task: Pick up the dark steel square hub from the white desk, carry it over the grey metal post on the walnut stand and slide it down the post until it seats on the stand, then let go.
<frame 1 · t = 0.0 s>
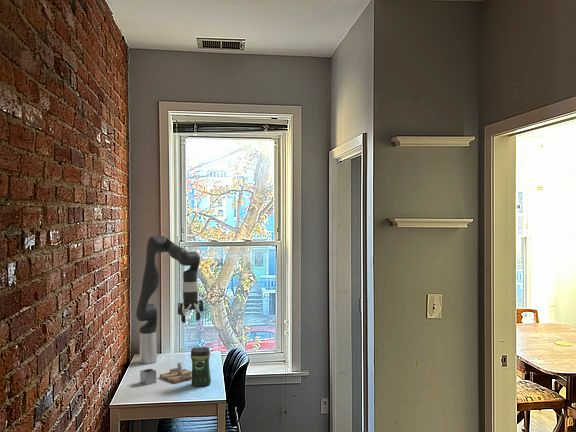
hand: (190, 321, 294), 29 cm above the table, fingers open, 8 cm apart
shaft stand: (179, 377, 295), on the table
hub: (148, 382, 287), on the table
coffee jar: (201, 384, 282), on the table
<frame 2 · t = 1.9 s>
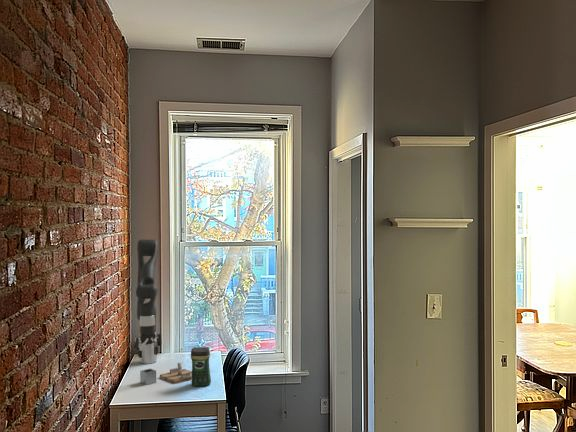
hand: (148, 356, 287), 13 cm above the table, fingers open, 8 cm apart
nothing on the table moved.
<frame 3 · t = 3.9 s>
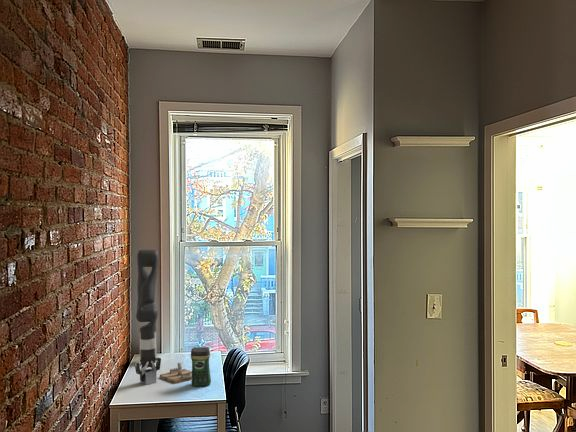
hand: (148, 380, 287), 1 cm above the table, fingers closed on hub, 5 cm apart
hub: (148, 382, 287), on the table, touching gripper
everything else where it was.
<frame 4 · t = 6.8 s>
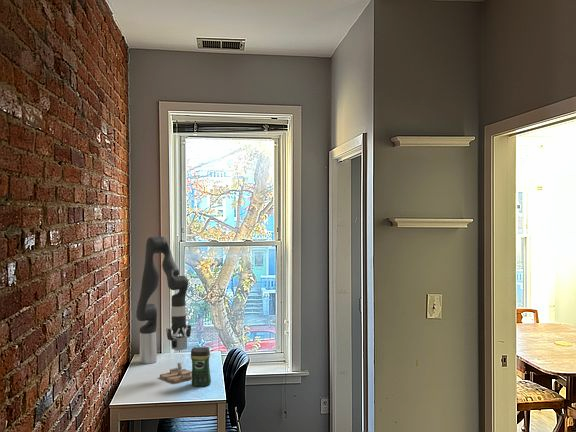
hand: (179, 346, 295), 16 cm above the table, fingers closed on hub, 5 cm apart
hub: (179, 348, 295), point 15 cm above the table, touching gripper
everything else where it was.
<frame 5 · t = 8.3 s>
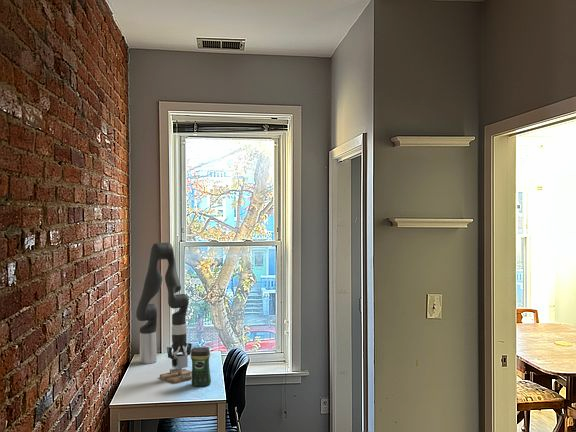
hand: (179, 364, 295), 7 cm above the table, fingers closed on hub, 5 cm apart
hub: (179, 367, 295), point 5 cm above the table, touching gripper
everything else where it was.
when the fingers open (5 cm above the table, at t = 9.6 s): hub drops 2 cm, resting on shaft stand.
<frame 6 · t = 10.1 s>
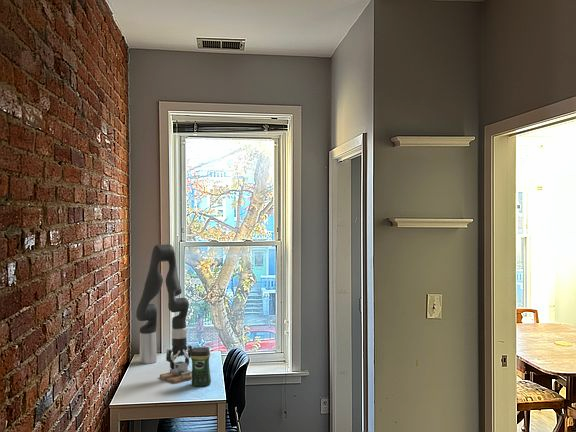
hand: (179, 367, 295), 5 cm above the table, fingers open, 8 cm apart
hub: (179, 374, 295), point 1 cm above the table, touching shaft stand
everything else where it was.
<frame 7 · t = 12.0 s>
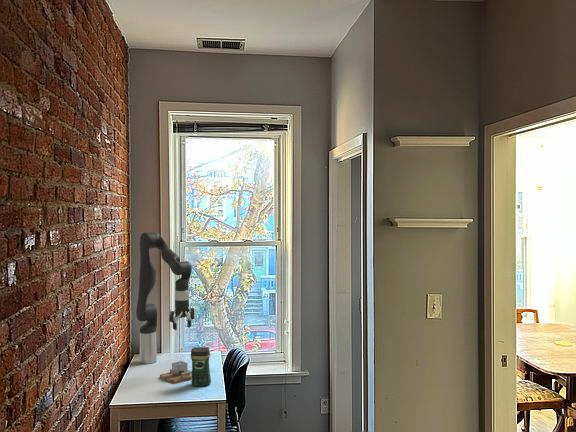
hand: (182, 328, 305), 23 cm above the table, fingers open, 8 cm apart
nothing on the table moved.
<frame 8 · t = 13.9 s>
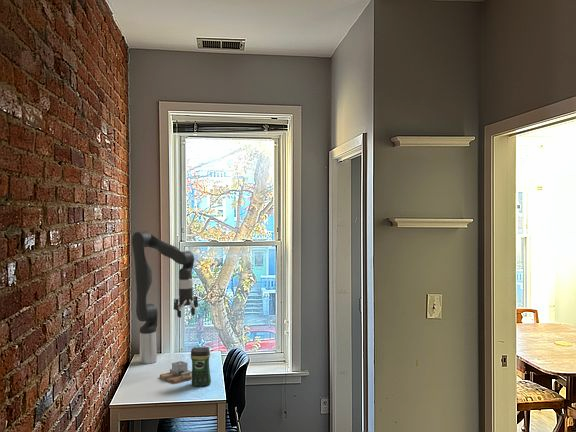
hand: (186, 316, 315), 28 cm above the table, fingers open, 8 cm apart
nothing on the table moved.
at the end: hub 0.1 cm off-centre on the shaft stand, point 1.5 cm above the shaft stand's base; hub tilted 0°; the gripper is holding nothing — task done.
